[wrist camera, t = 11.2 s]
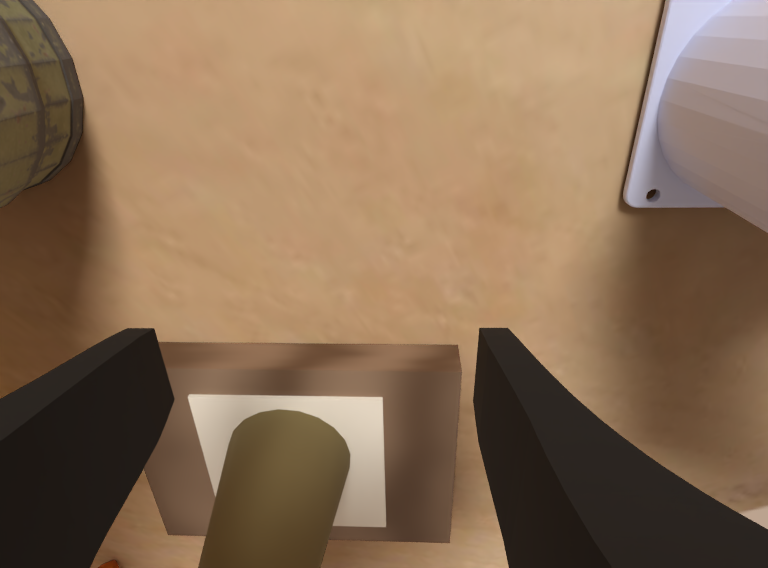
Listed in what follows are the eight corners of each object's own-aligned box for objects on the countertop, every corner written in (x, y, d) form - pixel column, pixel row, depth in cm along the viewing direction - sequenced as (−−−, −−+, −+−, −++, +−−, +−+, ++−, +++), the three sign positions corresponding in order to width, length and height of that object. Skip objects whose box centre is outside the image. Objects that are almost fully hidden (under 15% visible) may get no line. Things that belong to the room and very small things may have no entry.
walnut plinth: (457, 345, 23) (462, 374, 21) (447, 511, 29) (449, 546, 27) (128, 342, 24) (104, 370, 22) (182, 504, 30) (166, 538, 28)
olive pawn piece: (370, 481, 25) (346, 777, 15) (266, 507, 26) (183, 794, 16) (317, 394, 22) (246, 686, 12) (205, 428, 23) (63, 716, 14)
